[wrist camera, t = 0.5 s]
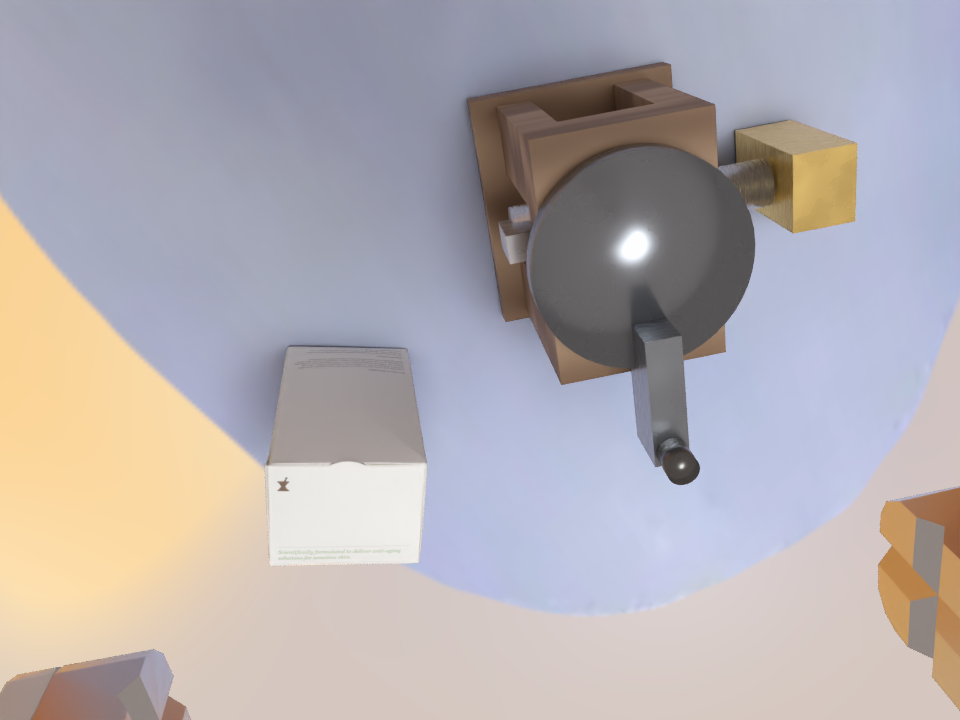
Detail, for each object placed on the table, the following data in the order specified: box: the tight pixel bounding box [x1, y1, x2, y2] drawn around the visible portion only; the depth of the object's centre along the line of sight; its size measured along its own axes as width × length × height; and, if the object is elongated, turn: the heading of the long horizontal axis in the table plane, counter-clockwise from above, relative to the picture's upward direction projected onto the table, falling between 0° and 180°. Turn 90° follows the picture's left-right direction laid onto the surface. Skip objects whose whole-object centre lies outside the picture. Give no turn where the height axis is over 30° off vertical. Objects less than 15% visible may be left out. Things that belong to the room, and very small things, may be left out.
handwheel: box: [526, 143, 755, 485], centre depth 41 cm, size 16×11×6 cm
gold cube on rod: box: [498, 120, 857, 264], centre depth 50 cm, size 4×20×8 cm, turn 99°
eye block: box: [467, 62, 726, 385], centre depth 48 cm, size 14×12×12 cm
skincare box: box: [265, 347, 427, 566], centre depth 51 cm, size 8×7×16 cm
